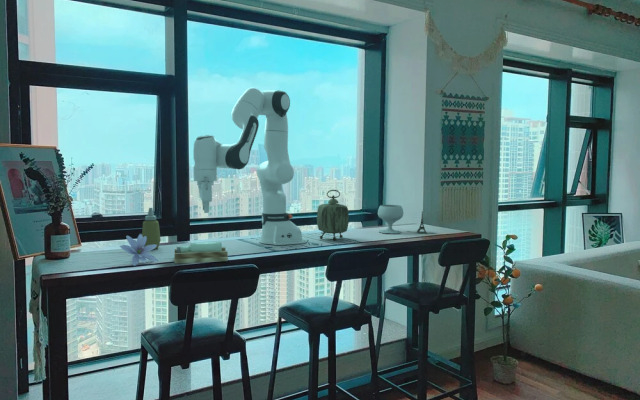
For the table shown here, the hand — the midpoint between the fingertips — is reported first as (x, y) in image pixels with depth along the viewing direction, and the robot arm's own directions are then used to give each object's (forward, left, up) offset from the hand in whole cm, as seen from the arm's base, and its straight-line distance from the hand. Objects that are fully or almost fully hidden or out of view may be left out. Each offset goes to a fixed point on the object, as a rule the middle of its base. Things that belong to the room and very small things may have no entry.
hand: (205, 211), depth 192 cm
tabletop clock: (-64, -33, -19) cm, 74 cm away
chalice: (-102, -48, -19) cm, 114 cm away
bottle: (+3, 0, -18) cm, 18 cm away
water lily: (+25, +1, -19) cm, 31 cm away
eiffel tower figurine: (-119, -45, -20) cm, 129 cm away
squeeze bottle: (+22, -28, -19) cm, 40 cm away
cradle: (+2, 0, -19) cm, 19 cm away
